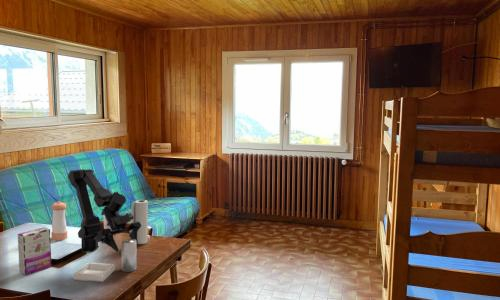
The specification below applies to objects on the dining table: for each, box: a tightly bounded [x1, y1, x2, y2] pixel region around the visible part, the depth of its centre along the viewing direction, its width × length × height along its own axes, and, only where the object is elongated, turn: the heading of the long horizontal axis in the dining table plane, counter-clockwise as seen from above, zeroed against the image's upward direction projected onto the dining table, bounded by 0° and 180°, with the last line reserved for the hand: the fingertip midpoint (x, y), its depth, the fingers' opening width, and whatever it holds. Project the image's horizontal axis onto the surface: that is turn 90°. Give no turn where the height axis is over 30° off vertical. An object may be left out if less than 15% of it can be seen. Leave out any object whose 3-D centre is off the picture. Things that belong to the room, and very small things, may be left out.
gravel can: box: [121, 238, 138, 273], centre depth 166 cm, size 6×6×12 cm
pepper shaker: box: [50, 201, 68, 241], centre depth 201 cm, size 7×7×19 cm
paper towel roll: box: [130, 199, 149, 245], centre depth 198 cm, size 7×6×21 cm
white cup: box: [102, 215, 117, 236], centre depth 211 cm, size 8×8×10 cm
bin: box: [73, 262, 116, 283], centre depth 160 cm, size 12×12×2 cm
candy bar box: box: [17, 226, 52, 276], centre depth 162 cm, size 11×5×16 cm, turn 148°
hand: (127, 248), depth 167 cm, fingers open, 9 cm apart
